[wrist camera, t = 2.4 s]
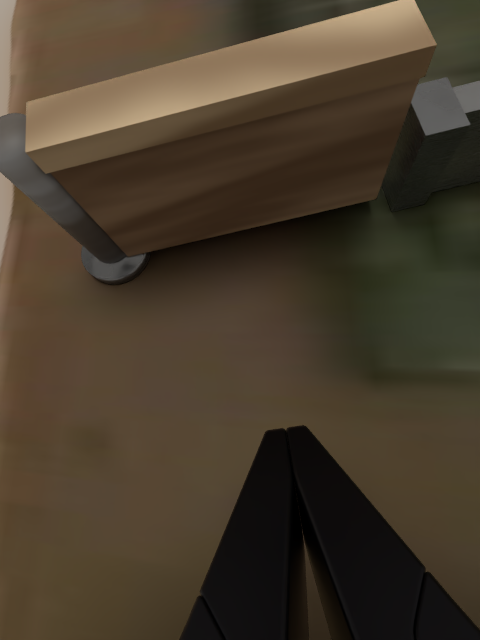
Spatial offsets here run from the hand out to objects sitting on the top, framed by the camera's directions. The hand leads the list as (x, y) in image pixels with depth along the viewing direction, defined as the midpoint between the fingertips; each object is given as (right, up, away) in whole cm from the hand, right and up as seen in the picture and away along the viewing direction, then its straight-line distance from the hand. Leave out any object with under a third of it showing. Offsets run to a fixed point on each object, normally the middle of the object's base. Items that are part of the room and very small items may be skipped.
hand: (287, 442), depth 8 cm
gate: (-2, +9, +15) cm, 17 cm away
